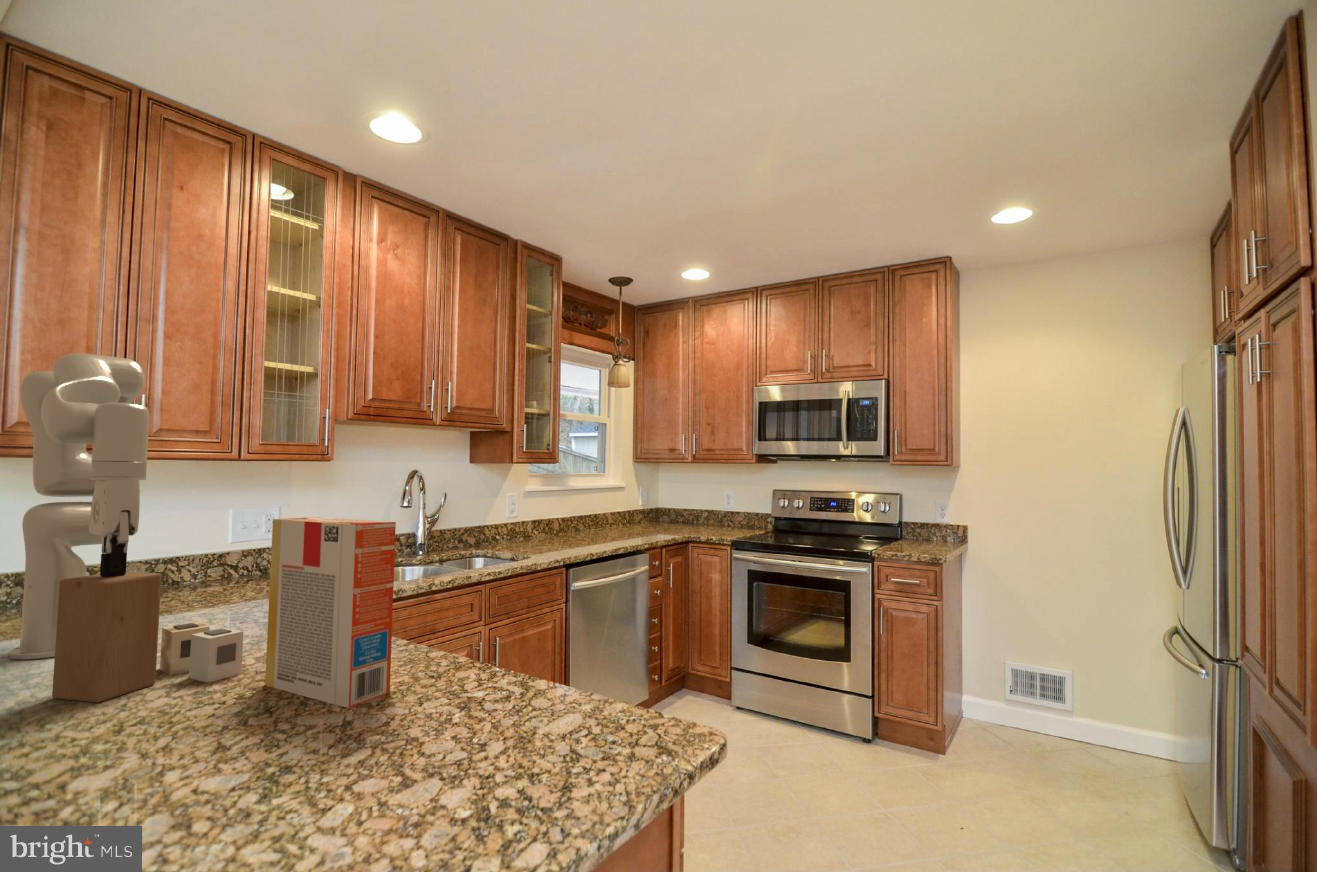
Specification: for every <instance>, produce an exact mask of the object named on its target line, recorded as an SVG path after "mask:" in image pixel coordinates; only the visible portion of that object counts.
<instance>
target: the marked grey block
mask: <svg viewBox="0 0 1317 872" xmlns="http://www.w3.org/2000/svg"><path fill="white" fill-rule="evenodd" d="M243 644H244V631H243V630H239V629H233V628H228V627H221V628H218V629H211V630H209V631H207V632H202V633H197V634H192V635H191V649H190V668H189V671H188V673H189V674H188V678H189V679H192V680H196V681H200V682H203V683H207V684H208V683H211V682H215V681H220V680H223V679H227V678H230V677H234V676H238V675H241V674H242V670H243V669H242V668H243V649H244V645H243Z"/></svg>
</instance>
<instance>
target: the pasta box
mask: <svg viewBox="0 0 1317 872" xmlns="http://www.w3.org/2000/svg"><path fill="white" fill-rule="evenodd" d="M396 525H397V522H396V521H389V520H388V521H385V520H373V519H359V518H357V519H356V518H355V519H353V518H339V517H338V518H337V517H324V516H322V517H321V516H309V517H307V516H306V517H288V518H287V517H285V518H273V519H272V530H271V532H272V533H271V534H272V535H271V552H270V553H271V555H270V556H271V557H270V572H269V573H270V576H269V595H268V596H269V597H268V617H267V634H266V635H267V638H266V639H267V640H266V657H265V659H266V660H265V677H264V681H265V682H264V686H267V687H270V688H271V689H272V688H273V689H277V690H281V691H284V692H289V693H292V694H295V695H298V696H299V695H300V696H303V697H307V698H311V699H314V700H317V701H320V702H321V701H322V702H325V703H328V704H332V705H335V706H336V705H337V706H340V707H344V708H347V709H350V708H353V707H355V706H358V705H361V704H363V703H366V702H369V701H372V700H375V699H377V698H380V697H382V696H383V697H384V696H385V695H389V694H390V693H391V692H390V690H391V668H392V667H391V664H392V663H391V662H392V636H393V635H392V634H393V610H394V586H395V585H394V580H395V579H394V578H395V554H396V553H395V552H396V551H395V550H396V528H397V527H396Z"/></svg>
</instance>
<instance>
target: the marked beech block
mask: <svg viewBox="0 0 1317 872" xmlns="http://www.w3.org/2000/svg"><path fill="white" fill-rule="evenodd" d="M207 631H210V626H209V625H206V624H205V623H201V622H199V621H196V622H190V623H184V624H177V625H173V626H166V627H161V643H160V660H159V670H161V671H162V672H164V673H166V674H167V675H169V674H170V676H173V674H174V675H177V674H182V673H187V672H188V673H189V668H190V649H191V635H192V634H197V633H202V632H207Z"/></svg>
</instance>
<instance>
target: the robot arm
mask: <svg viewBox="0 0 1317 872" xmlns="http://www.w3.org/2000/svg"><path fill="white" fill-rule="evenodd" d="M145 378H146V377H145V373H144V370H143V368H142V366H141V365H140V364H139V363H138V362H137V361H134V360H133V359H129V358H126V357H125V358H124V357H116V356H109V355H108V356H107V355H102V354H93V353H83V352H78V353H76V352H75V353H74V352H73V353H68V354H65V355H63V356H61V357H59V358H58V359H57V360H56V361H55V363H54V364H53V367H52V370H43V371H35V372H31V373H28V374H27V375H25V376H24V378H23V379H22V380H21V383H20V401H21V407H22V409H23V413H24V414H25V418H26V420H27V421H28V425H29V427H30V429H31V432H32V436H33V439H32V442H33V443H32V445H33V447H32V449H33V450H32V451H33V452H32V481H33V487H34V490H35V491H36V492H37V493H38V494H39V495H41V496H45V497H53V498H54V497H56V498H60V497H61V498H65V497H66V498H68V497H69V498H76V497H78V498H79V497H92V498H91V501H56V502H55V501H53V502H45V503H40V504H37V505H35V506H32V507H30V508H28V510H26V512H25V513H24V514H23V517H22V523H21V524H22V534H23V535H22V536H23V540H24V541H23V542H24V551H25V564H24V565H25V567H24V568H25V569H24V580H23V581H24V583H23V585H24V586H23V598H22V599H23V600H22V612H21V625H20V639H19V646H18V647H14V648H12V649H10V650H9V651H8V658H10V659H12V660H36V659H37V660H39V659H46V658H55V646H56V631H57V617H58V602H59V587H60V581H61V580H63V579H68V578H75V577H82V576H87V566H86V565H87V564H85V561H84V560H83V559H82V558H81V557H80V556H79V555H78V554H76V552H74V551H73V549H72V548H74V547H80V546H90V545H91V546H93V545H101V554H100V569H99V574H100V576H102V577H113V576H123V575H125V574H126V572H127V562H128V561H127V560H128V559H127V558H128V547H129V546H128V545H129V541H130V537H129V536H131V537H132V536H134V535H136V534H137V533H138V531H139V524H140V523H139V522H140V511H141V510H140V509H141V508H140V506H141V505H140V504H141V499H140V498H141V497H140V496H141V495H140V494H141V490H140V489H141V488H140V481H146V479H147V467H148V465H147V464H148V463H147V462H148V451H149V450H148V448H149V447H148V446H149V430H150V429H149V428H150V411H149V409H148V408H147V407H146V406H145V405H142V404H137V403H134V401H136V399H138V397H139V396H140V395H141V393H143V392H142V391H143V389H144V386H145ZM87 445H92V451H91V453H88V451H87Z"/></svg>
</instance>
